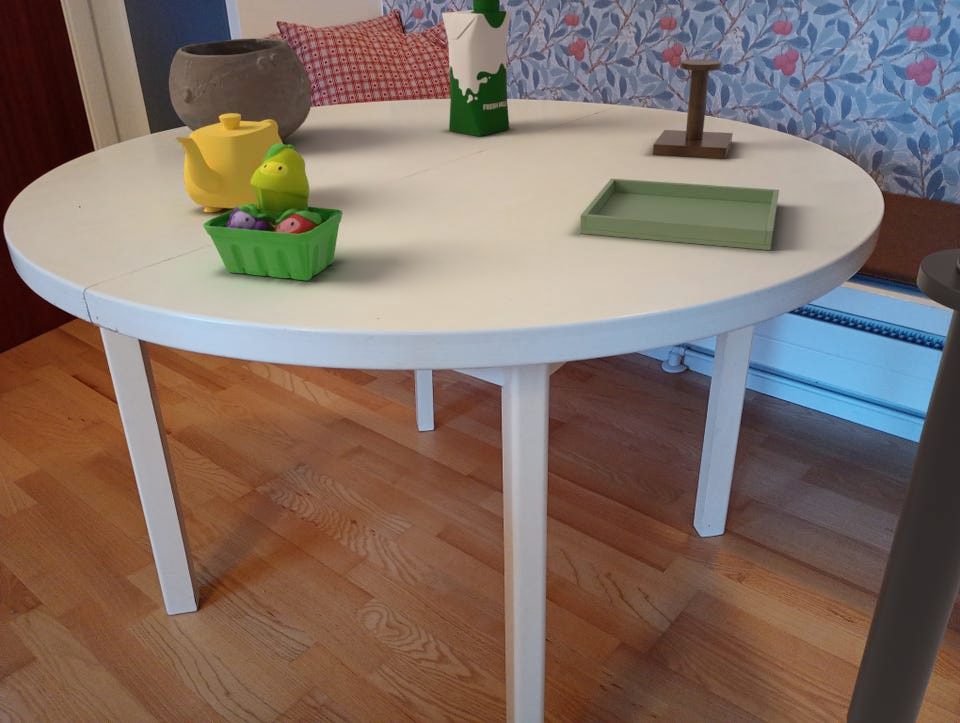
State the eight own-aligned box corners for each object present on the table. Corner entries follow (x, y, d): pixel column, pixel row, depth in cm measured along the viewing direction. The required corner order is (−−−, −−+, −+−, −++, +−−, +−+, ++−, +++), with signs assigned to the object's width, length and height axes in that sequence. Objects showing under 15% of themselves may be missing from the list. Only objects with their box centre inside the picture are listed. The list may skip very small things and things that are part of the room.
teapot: (233, 234, 89) (216, 134, 84) (152, 225, 93) (131, 129, 88) (319, 190, 104) (309, 103, 99) (247, 184, 108) (233, 99, 103)
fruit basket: (207, 276, 78) (185, 157, 73) (258, 246, 86) (241, 136, 81) (312, 288, 75) (297, 165, 70) (356, 256, 82) (345, 142, 77)
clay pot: (319, 153, 122) (307, 46, 115) (173, 164, 119) (151, 54, 112) (314, 126, 141) (303, 32, 134) (187, 135, 137) (169, 39, 130)
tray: (776, 206, 93) (779, 189, 92) (770, 250, 81) (773, 231, 80) (610, 194, 99) (610, 178, 98) (579, 233, 87) (580, 215, 86)
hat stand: (731, 143, 122) (741, 57, 116) (725, 158, 114) (735, 67, 108) (663, 139, 125) (670, 56, 119) (652, 154, 117) (659, 66, 111)
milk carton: (480, 138, 129) (476, -1, 120) (440, 131, 134) (434, -2, 125) (517, 129, 134) (517, -4, 125) (477, 122, 140) (474, -6, 131)
